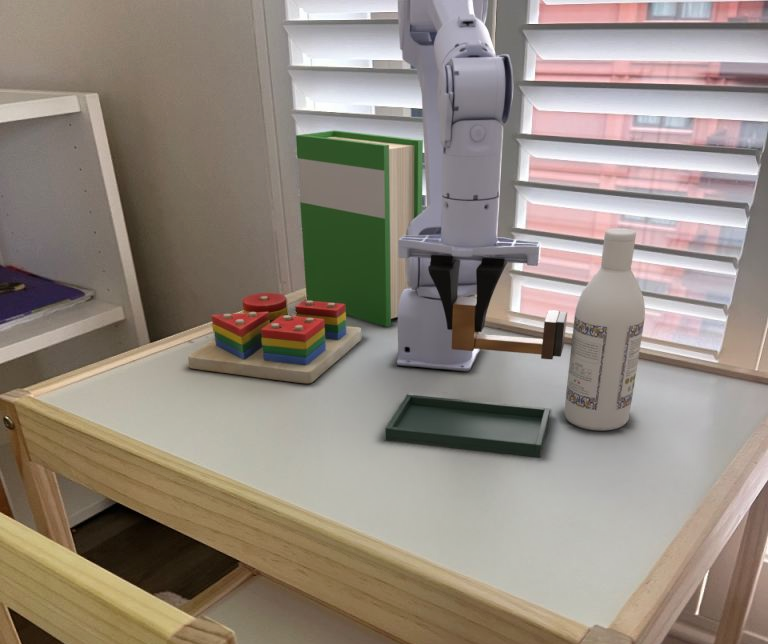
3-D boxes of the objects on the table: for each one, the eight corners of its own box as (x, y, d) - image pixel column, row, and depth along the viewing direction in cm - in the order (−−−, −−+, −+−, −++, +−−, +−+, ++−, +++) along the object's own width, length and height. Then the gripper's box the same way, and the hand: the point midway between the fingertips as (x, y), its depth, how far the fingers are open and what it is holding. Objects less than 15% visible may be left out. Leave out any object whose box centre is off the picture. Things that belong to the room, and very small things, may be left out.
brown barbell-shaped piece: (450, 351, 87) (451, 305, 84) (457, 338, 90) (459, 294, 87) (560, 360, 84) (565, 313, 81) (563, 347, 87) (568, 301, 84)
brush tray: (385, 440, 85) (385, 428, 84) (407, 405, 92) (406, 394, 92) (539, 457, 81) (541, 445, 80) (549, 419, 88) (550, 408, 88)
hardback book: (421, 315, 120) (422, 139, 108) (386, 326, 116) (383, 145, 103) (341, 292, 131) (334, 130, 118) (306, 302, 126) (295, 135, 114)
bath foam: (619, 405, 91) (646, 222, 81) (635, 432, 85) (667, 238, 75) (558, 406, 91) (577, 223, 81) (570, 433, 85) (592, 239, 75)
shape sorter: (310, 385, 98) (307, 337, 95) (187, 369, 103) (180, 322, 100) (363, 338, 112) (361, 295, 108) (252, 326, 117) (247, 284, 114)
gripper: (389, 200, 78) (391, 334, 85) (539, 205, 75) (527, 345, 82) (407, 187, 84) (407, 314, 91) (547, 192, 81) (536, 323, 88)
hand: (465, 327), depth 87 cm, fingers closed on brown barbell-shaped piece, 2 cm apart
